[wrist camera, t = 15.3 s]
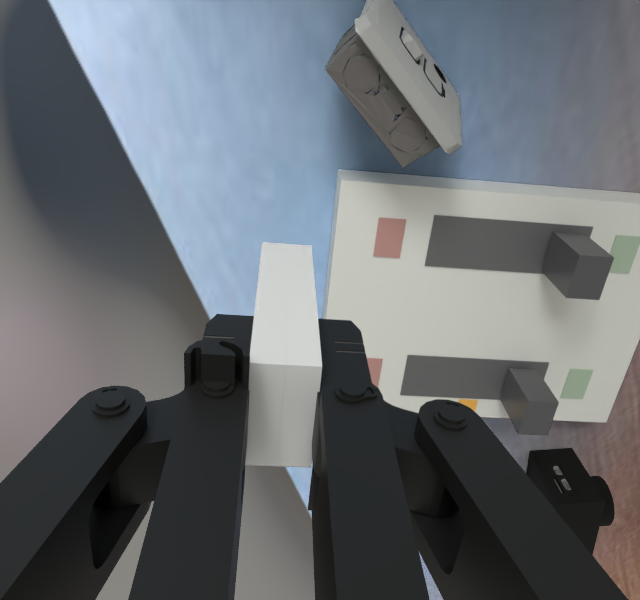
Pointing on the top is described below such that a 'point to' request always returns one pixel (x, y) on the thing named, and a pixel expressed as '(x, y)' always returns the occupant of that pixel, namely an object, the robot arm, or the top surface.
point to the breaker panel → (481, 289)
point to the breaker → (577, 265)
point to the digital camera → (572, 492)
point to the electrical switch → (396, 84)
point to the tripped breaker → (528, 401)
